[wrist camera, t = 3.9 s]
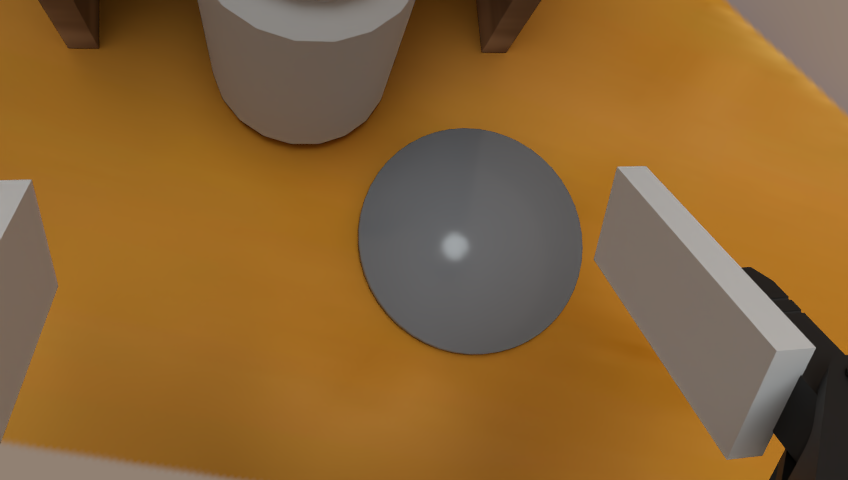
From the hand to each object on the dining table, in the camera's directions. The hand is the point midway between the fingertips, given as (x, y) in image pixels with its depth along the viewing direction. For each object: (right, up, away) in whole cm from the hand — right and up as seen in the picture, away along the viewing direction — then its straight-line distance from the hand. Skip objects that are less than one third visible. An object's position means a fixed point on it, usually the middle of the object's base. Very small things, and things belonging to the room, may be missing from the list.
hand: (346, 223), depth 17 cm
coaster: (+4, 0, +15) cm, 16 cm away
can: (-4, +7, +16) cm, 17 cm away
